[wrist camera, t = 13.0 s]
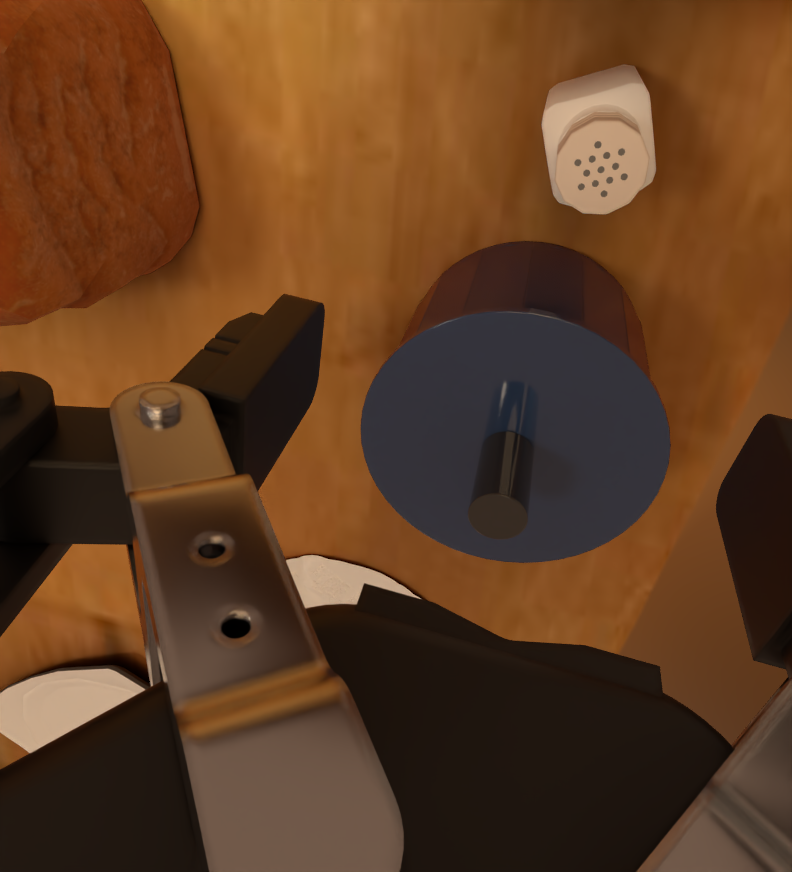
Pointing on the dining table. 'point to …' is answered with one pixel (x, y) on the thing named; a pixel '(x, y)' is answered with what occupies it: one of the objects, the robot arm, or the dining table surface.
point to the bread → (86, 154)
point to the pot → (535, 290)
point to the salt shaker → (599, 139)
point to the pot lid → (515, 434)
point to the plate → (62, 701)
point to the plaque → (335, 581)
